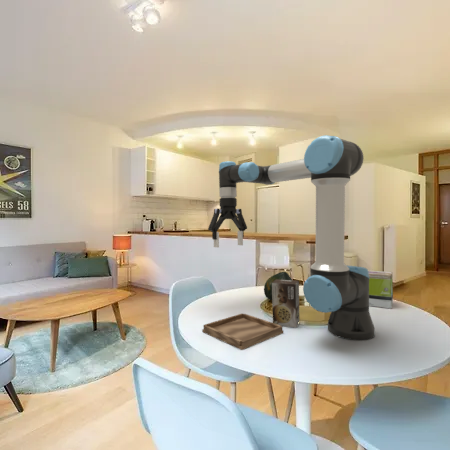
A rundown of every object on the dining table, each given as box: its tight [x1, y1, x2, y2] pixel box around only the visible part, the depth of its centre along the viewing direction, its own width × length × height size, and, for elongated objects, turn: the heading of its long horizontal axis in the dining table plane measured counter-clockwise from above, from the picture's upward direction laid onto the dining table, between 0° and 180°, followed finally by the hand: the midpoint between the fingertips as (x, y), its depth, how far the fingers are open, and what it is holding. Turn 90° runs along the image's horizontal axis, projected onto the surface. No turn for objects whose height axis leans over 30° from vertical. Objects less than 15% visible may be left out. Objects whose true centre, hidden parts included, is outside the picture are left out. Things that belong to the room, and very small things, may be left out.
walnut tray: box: [201, 313, 284, 351], centre depth 105 cm, size 20×20×2 cm
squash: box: [263, 271, 293, 301], centre depth 145 cm, size 14×15×15 cm
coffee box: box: [271, 279, 301, 329], centre depth 113 cm, size 9×6×16 cm
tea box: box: [368, 270, 394, 309], centre depth 137 cm, size 15×10×15 cm
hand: (228, 246), depth 132 cm, fingers open, 13 cm apart
